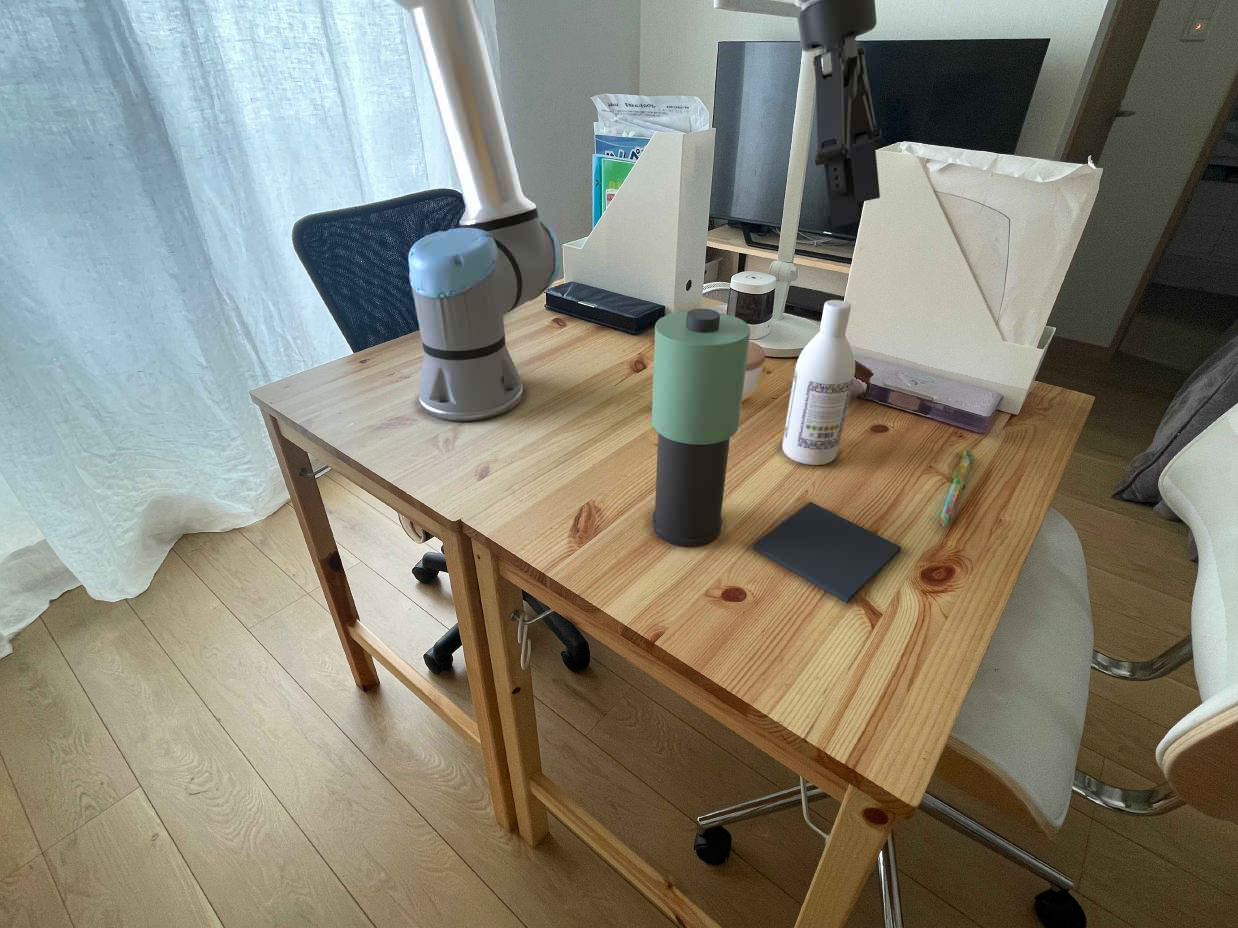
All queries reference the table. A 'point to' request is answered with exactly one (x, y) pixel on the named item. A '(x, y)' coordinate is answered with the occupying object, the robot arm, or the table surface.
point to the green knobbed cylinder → (699, 376)
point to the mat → (827, 550)
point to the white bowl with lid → (753, 368)
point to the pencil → (956, 487)
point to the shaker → (689, 491)
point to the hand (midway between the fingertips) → (857, 211)
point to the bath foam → (821, 390)
